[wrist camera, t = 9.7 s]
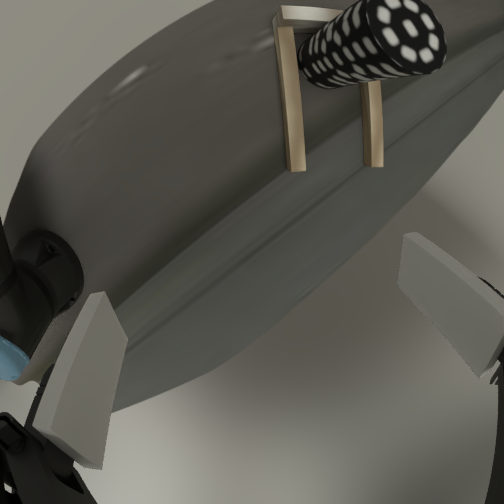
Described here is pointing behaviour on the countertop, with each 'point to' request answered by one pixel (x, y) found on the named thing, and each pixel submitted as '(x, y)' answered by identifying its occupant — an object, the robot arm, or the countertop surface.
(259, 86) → the countertop surface
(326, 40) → the white-spotted black cylinder
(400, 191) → the countertop surface
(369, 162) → the guide channel
